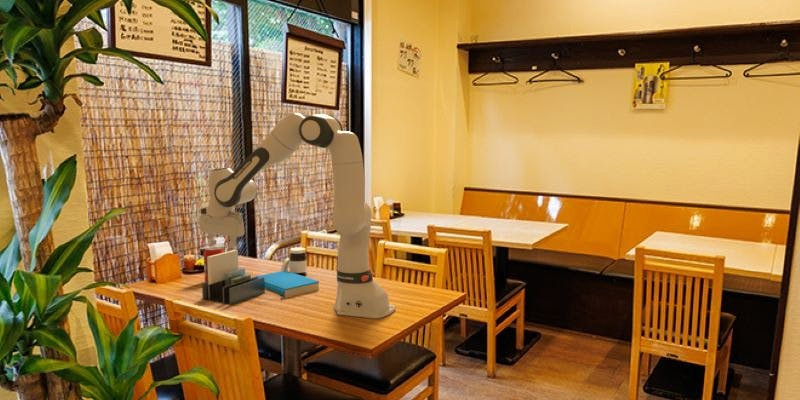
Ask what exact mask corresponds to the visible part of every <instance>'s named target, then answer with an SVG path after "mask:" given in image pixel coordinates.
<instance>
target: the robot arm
mask: <svg viewBox="0 0 800 400" xmlns="http://www.w3.org/2000/svg"><path fill="white" fill-rule="evenodd" d="M343 127H344V126H343V125H342V123H341V121H340V120H339V119H338V118H336V117H334V116H331V115H327V114H310V115H308V116H306V117H305V116H303V115H302V114H301V113H298V112H291V113H289V114H288V115H286V116H285V117H284V118H282V120H280V121H279V122H278V123H277V124H276V125H275V126H274V127H273V128H272V130H271V131H270V132H269V133H268V135H267V136H266V137H265V138H264V139H263V141H261V143H260V144H259V145H258V146H257V147H256V148H255V149H254V150H253V151H252V152H251V153H250V154H249V155H248V156H247V157H246V158H245V160H243V161H242V162H241V163H240V165H239V166H238V167H237V168H236V169H235V170H234V171H233V170H232V168H230V167H221V168H215V169H212V170H211V171H210V172H209V177H208V194H209V201H208V205H207V206H204V207H202V208H199V210H198V211H199V214H200V216H199V218H198V219H199V220H198V221H199V222H198V223H199V226H198V227H199V231H200V232H201V233H204V234H207V237H208V239H209V243H210V245H211V246H216V245H217V239H215V237H214V236H215V235H219V236H227V237H229V239H230V241H229V242H228V243H227V245H228V246H227V247H228V248H230V249H233V248H234V247H235V243H236V241H237V238H241V237H243V236H244V235H245V226H244V225H245V224H244V220H243V215H242V214H241V213H240V212H237V211H236V212H235V211H234V206H236V205H237V206H238V205H240V204H245V203H248V202H251V201H253V200H254V199H255V198H256V197H257V194H258V187H257V184H256V182H255V181H254V180H253V179H254V178H255V177H256V176H257V175H258V174H259V173H260V172H261V171H263V170H265V169H267V168H270V167H271V166H275V165H278V164H281V163H283V162H285V161H286V160H288V159H289V158H291V156H292V155H294V153H295V152H296V151H297V150H298V148H299V147H300V146H301V145H302V144H303V143H306V144H308V145H310V146H314V147H317V148H322V149H326V148H327V150H328V151H329V154H330V157H331V158H330V159H331V169H332V171H331V172H332V180H333V204H332V205H333V210H332V211H333V214H332V215H333V216H332V225H333V227H334V229H335V231H336V232H337V233H339V241H338V245H337V246H338V247H337V270H336V283H337V288H336V290H337V291H336V297H335V302H334V306H333V309H334V311H336V314H337V315H339V316H348V317H350V316H351V317H359V318H367V319H380V318H383V317H386V316H388V315H390V314H393V313H394V312H395V311H396V306H395V305H394V304H392V303H390V301H389V295H388V291H386V290H384V288H382V287H381V286H380V285H379V284H378V283H377V282H376V281H374V280H373V276H375V273H376V272H375V271H374V272H371V270H370V268H369V247H370V238H371V227H372V225H371V224H372V209H371V207H370V205H369V204H368V203H367V202H365V188H366V187H365V185H366V181H365V170H364V162H363V161H364V159H363V154H362V148H361V145H360V142H359V141H360V140H359V138H358V135H356V133H354V132H351V131H347V130H346V131H344V129H343Z"/></svg>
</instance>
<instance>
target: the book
mask: <svg viewBox="0 0 800 400" xmlns="http://www.w3.org/2000/svg"><path fill="white" fill-rule="evenodd" d="M256 276H258V279H260V278H263V277H264V280H265V290H266V289H267V290H270V291H272V292H274V293H277V294H280V295H279V297H282V298H283V299H284V298H286V299H287V298H289V297H293V296H294V297H295V296H298V295H302V294H306V293H307V294H308V293H311V292H315V291H319V290H320V289H319V288H320V286H319V285H320V284H319V283H320V281H319V280H316V279H314V278H310V277H307V276H305V275H303V276H301V275H298V274H295V273H292V272H290V270H288V271H281V270H280V271H275V272H271V273H267V274H261V275H256ZM256 276H251V278H253V277H256Z"/></svg>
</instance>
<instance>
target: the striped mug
mask: <svg viewBox="0 0 800 400" xmlns="http://www.w3.org/2000/svg"><path fill="white" fill-rule="evenodd" d="M307 267H308V266H307V253H306V248H305V247H300V246H299V247H298V246H297V247H291V248H290V249H289V255H288V257H287V258H286V259H284V261H283V263H282V265H281V268H280V269H281V270H280V271H289V272H292V273H295V274H298V275H301V276H306V274H307V272H308V271H307V269H308V268H307Z"/></svg>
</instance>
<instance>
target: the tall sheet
mask: <svg viewBox="0 0 800 400" xmlns="http://www.w3.org/2000/svg"><path fill="white" fill-rule="evenodd" d="M207 263H208V285H209V284H212V283H216V282H219V281H222V280H225V273H227V272H231V271H234V270H237V269H239V251H238V250H237V249H233V250H229V251H225V252H224V251H223V253H220V254H216V255H212V256H208V257H207Z"/></svg>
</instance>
